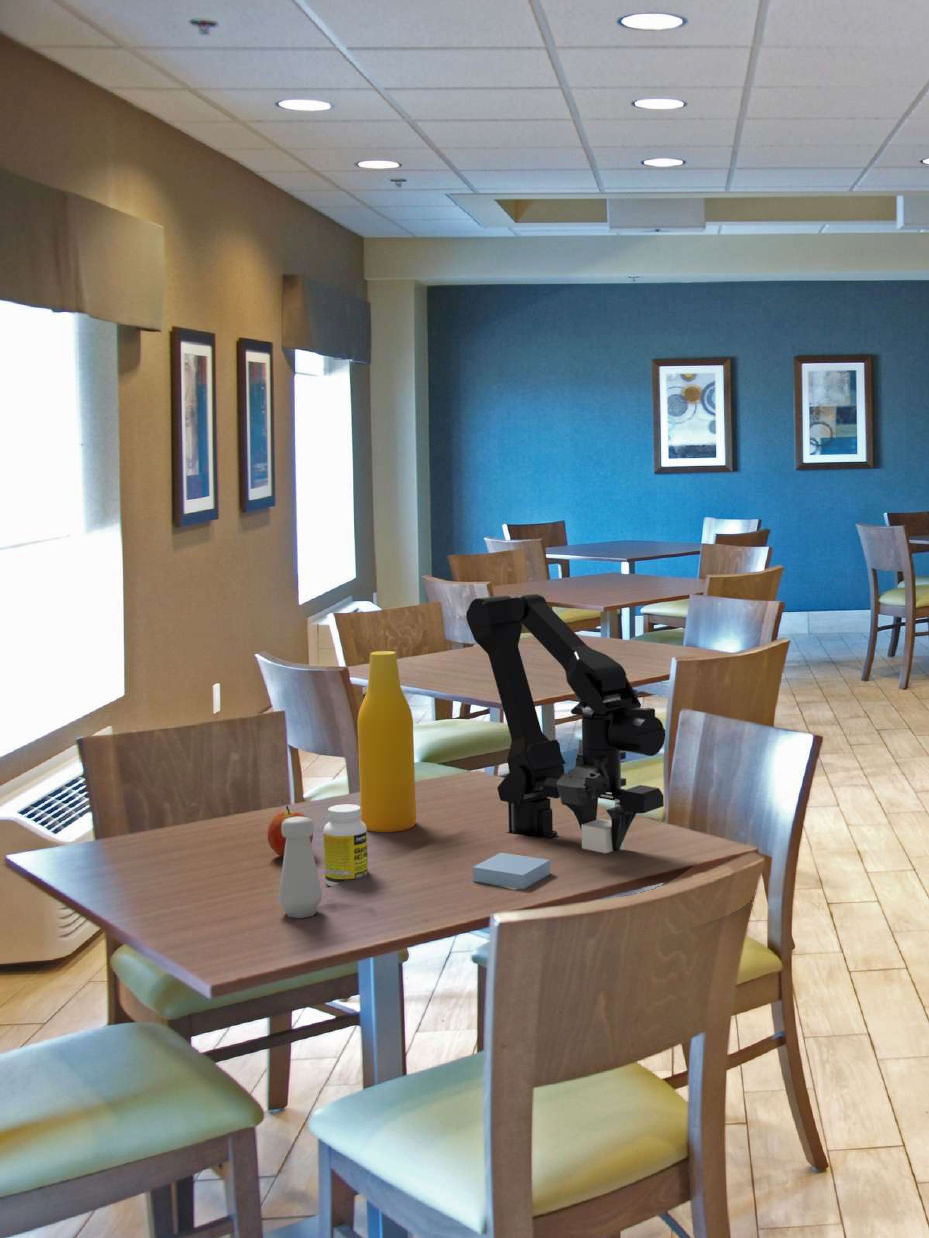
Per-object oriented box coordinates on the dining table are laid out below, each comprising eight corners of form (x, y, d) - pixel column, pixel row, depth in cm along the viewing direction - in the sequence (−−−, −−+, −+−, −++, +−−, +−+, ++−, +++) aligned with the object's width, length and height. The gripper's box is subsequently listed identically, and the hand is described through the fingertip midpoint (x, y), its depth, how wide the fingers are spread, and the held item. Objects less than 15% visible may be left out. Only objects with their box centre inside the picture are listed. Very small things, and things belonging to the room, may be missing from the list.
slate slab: (472, 881, 192) (472, 867, 192) (501, 865, 199) (500, 852, 198) (523, 889, 188) (523, 875, 187) (550, 873, 195) (550, 859, 194)
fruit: (322, 852, 213) (320, 802, 212) (298, 864, 207) (296, 812, 206) (284, 848, 216) (282, 798, 215) (259, 860, 210) (257, 809, 209)
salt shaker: (280, 907, 187) (276, 813, 186) (322, 904, 188) (319, 811, 186) (278, 921, 181) (274, 824, 180) (322, 918, 182) (318, 822, 180)
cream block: (582, 857, 207) (581, 824, 207) (600, 850, 210) (599, 818, 210) (606, 862, 204) (605, 829, 204) (624, 855, 207) (623, 823, 207)
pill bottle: (362, 890, 194) (359, 813, 192) (319, 888, 195) (316, 812, 194) (373, 877, 200) (371, 802, 198) (332, 875, 201) (329, 801, 200)
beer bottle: (427, 822, 230) (422, 650, 227) (395, 835, 222) (389, 657, 219) (382, 816, 235) (376, 647, 232) (349, 828, 227) (343, 655, 224)
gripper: (518, 748, 206) (521, 849, 207) (620, 763, 193) (621, 871, 195) (564, 736, 214) (566, 833, 216) (665, 750, 201) (666, 854, 203)
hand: (602, 848), depth 207 cm, fingers closed on cream block, 4 cm apart
